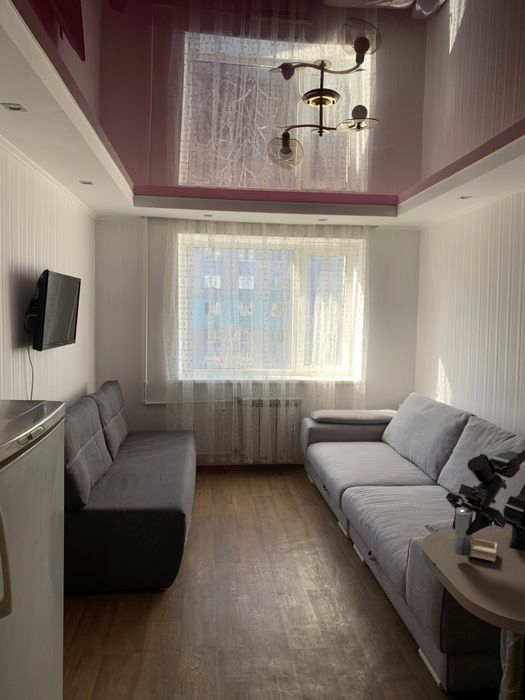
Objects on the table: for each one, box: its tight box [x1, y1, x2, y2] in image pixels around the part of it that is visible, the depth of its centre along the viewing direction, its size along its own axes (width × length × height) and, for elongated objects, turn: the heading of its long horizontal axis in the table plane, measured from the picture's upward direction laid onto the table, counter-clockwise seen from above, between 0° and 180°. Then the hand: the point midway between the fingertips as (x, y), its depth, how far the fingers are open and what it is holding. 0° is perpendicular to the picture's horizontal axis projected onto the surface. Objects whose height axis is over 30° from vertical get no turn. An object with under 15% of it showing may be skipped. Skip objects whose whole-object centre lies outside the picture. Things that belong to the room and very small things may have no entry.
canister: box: [453, 507, 474, 557], centre depth 158 cm, size 5×5×13 cm
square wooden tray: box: [467, 537, 498, 564], centre depth 163 cm, size 8×8×4 cm
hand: (460, 531), depth 157 cm, fingers closed on canister, 5 cm apart
